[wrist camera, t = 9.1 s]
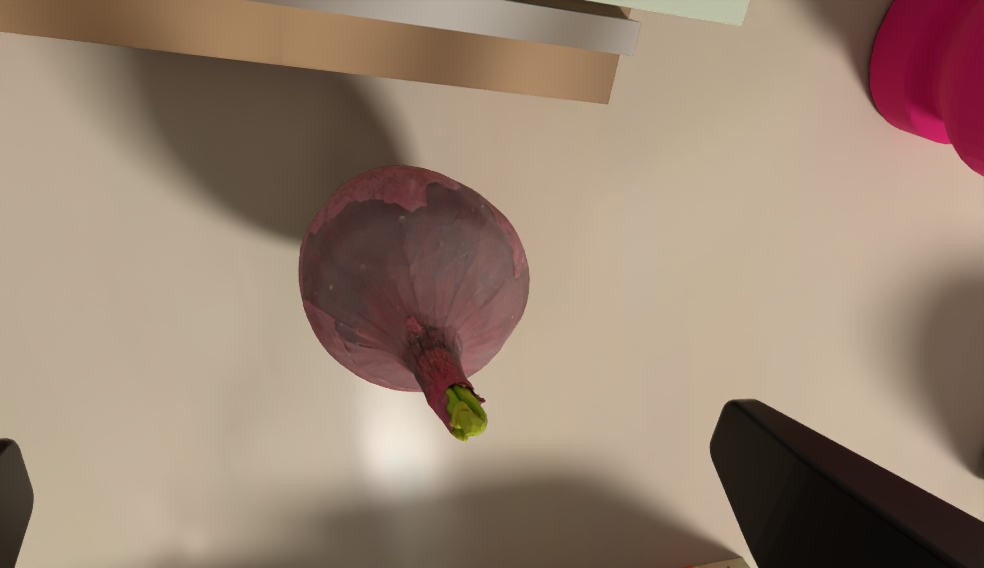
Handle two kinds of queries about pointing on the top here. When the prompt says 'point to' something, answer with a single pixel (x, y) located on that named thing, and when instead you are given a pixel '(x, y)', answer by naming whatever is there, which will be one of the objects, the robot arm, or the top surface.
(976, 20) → the pepper mill
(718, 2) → the lid
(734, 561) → the stack of blocks
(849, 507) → the robot arm
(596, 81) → the wooden container
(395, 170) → the vegetable
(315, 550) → the top surface
